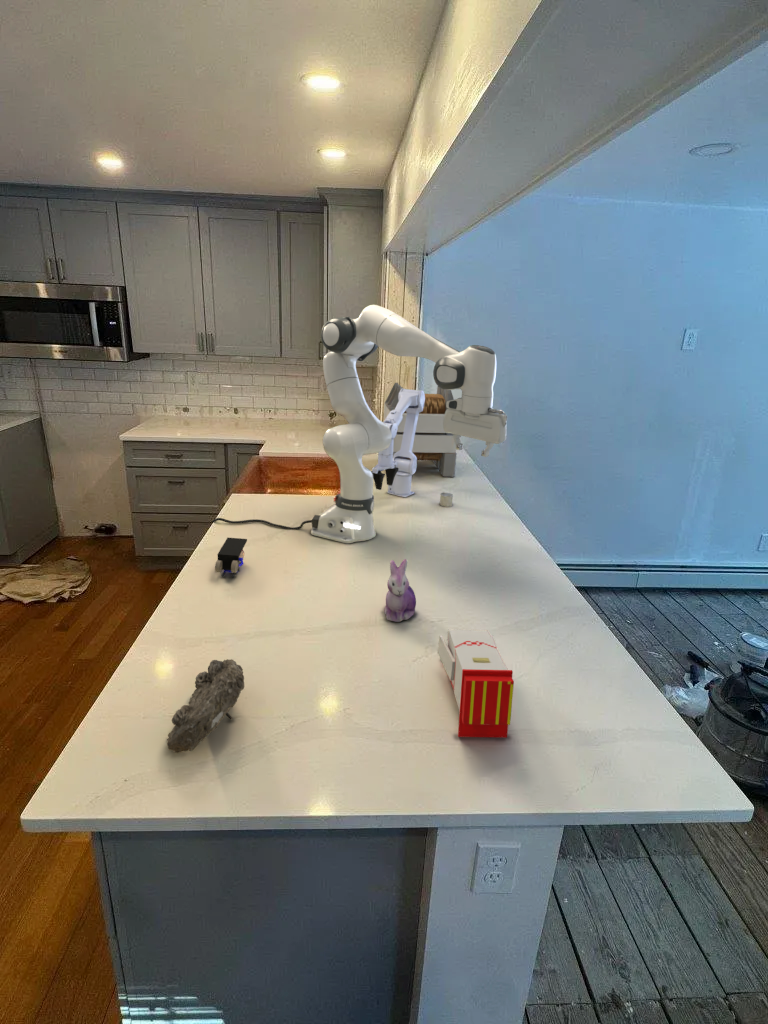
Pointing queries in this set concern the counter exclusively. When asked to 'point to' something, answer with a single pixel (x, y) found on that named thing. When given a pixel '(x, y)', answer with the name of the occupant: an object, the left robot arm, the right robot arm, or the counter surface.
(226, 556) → the figurine character
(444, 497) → the canister
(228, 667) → the fossil
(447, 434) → the transformer
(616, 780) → the counter surface
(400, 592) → the figurine
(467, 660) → the toy
